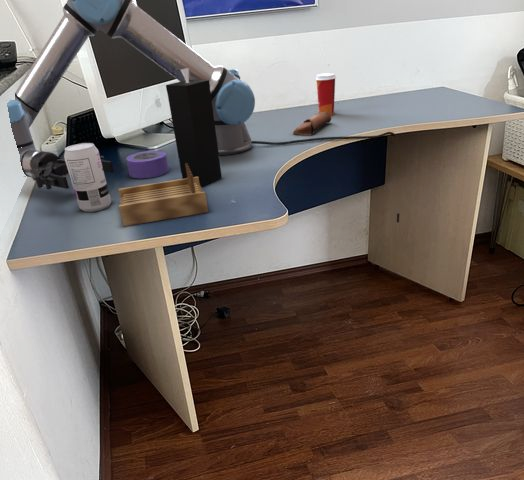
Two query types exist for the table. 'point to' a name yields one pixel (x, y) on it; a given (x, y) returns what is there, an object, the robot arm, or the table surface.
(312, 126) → the sunglasses case
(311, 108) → the table surface
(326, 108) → the paper cup
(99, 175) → the supplement can
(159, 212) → the dish rack
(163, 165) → the tape roll
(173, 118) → the tissue box
